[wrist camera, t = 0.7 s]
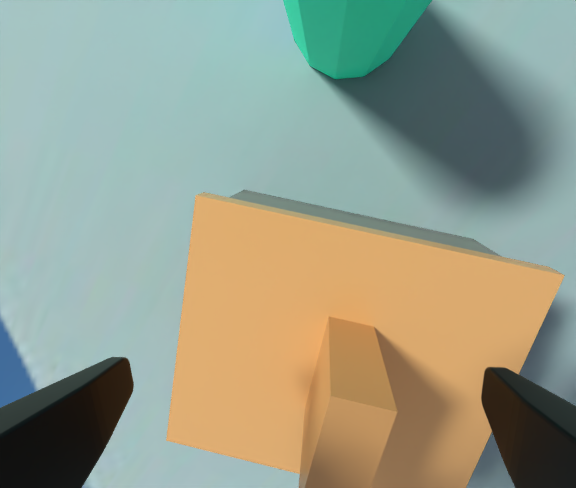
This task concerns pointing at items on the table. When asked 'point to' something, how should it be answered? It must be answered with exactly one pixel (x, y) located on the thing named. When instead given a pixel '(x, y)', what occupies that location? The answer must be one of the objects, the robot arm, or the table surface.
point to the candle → (351, 32)
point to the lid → (344, 346)
